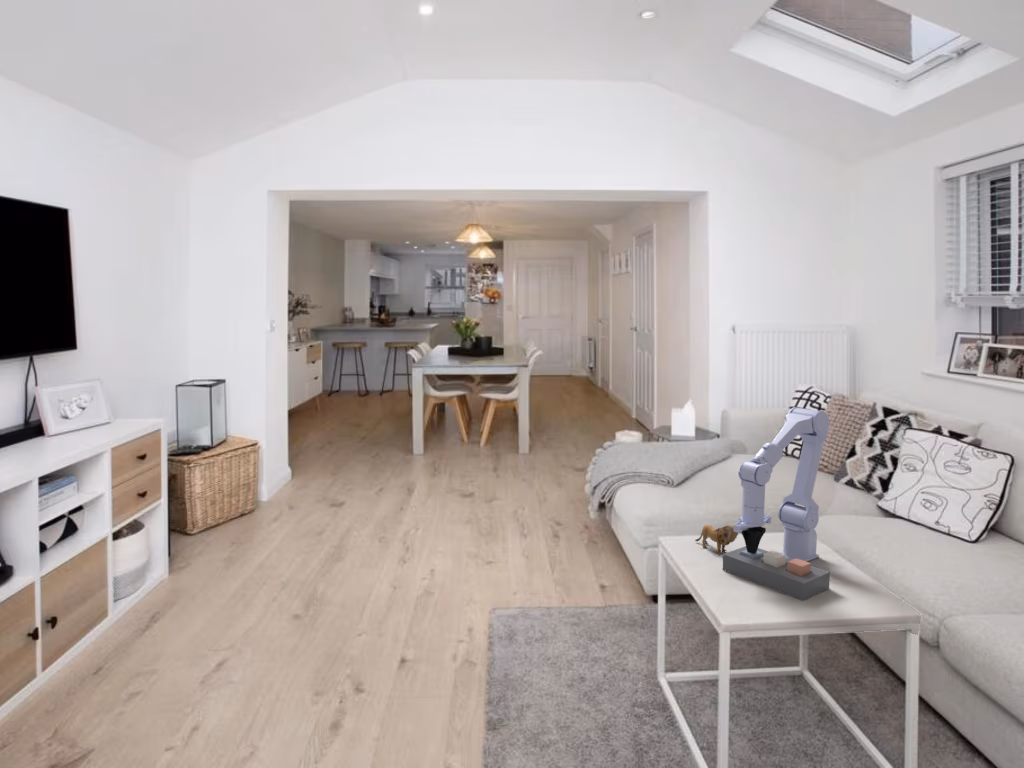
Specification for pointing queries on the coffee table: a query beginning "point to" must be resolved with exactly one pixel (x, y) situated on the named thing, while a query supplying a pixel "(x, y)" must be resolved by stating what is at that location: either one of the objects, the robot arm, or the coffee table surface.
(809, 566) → the red key
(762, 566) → the key housing
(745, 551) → the blue key
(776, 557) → the white key
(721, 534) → the lion figurine
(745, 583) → the coffee table surface
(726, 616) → the coffee table surface
